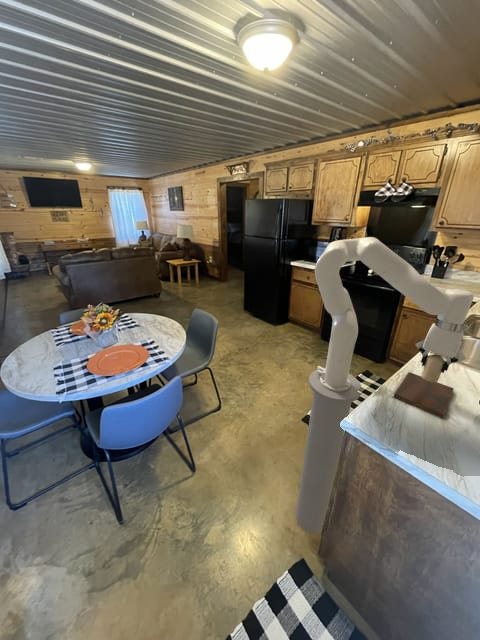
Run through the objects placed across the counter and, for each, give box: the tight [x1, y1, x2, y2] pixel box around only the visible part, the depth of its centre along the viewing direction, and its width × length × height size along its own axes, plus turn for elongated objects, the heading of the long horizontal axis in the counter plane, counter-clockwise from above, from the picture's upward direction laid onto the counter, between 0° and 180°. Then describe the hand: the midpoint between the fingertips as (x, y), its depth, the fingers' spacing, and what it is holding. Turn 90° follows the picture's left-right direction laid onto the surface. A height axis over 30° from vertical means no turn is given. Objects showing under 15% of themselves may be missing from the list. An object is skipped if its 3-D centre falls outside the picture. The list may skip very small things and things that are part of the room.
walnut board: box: [393, 371, 454, 419], centre depth 104 cm, size 16×20×2 cm
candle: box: [420, 353, 446, 382], centre depth 99 cm, size 6×6×10 cm
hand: (433, 367), depth 99 cm, fingers closed on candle, 5 cm apart
